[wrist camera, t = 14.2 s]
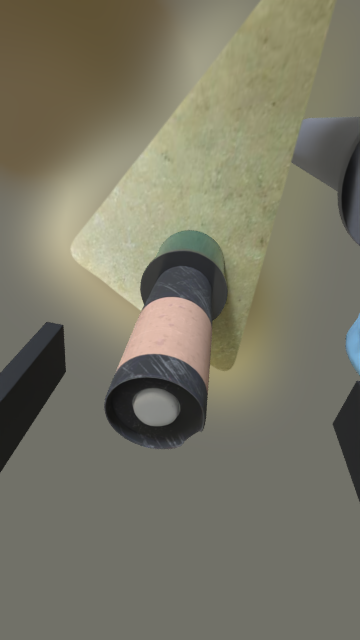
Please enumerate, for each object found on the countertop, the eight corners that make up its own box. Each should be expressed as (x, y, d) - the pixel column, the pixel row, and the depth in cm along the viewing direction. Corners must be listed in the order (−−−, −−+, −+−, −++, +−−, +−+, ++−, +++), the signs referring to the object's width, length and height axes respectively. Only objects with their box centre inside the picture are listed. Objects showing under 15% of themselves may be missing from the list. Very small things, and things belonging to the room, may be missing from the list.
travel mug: (149, 264, 39) (91, 373, 22) (213, 262, 38) (205, 375, 21) (156, 319, 43) (112, 448, 26) (215, 319, 42) (209, 453, 25)
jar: (226, 225, 46) (227, 248, 37) (226, 296, 51) (227, 329, 43) (150, 229, 47) (134, 251, 39) (158, 297, 52) (145, 329, 44)
